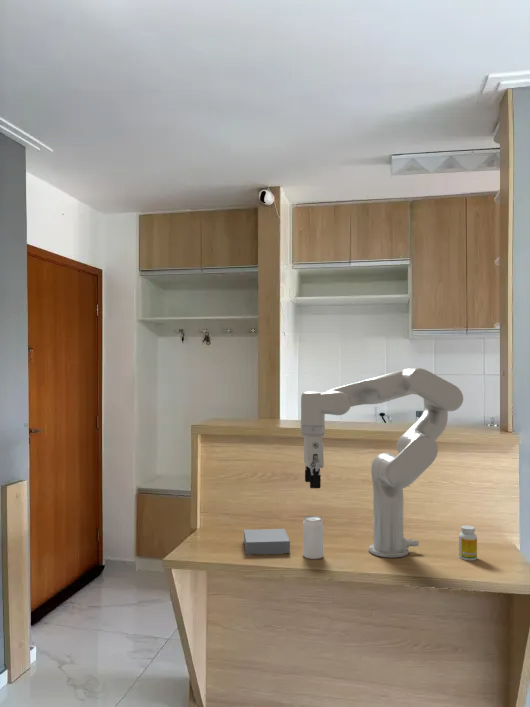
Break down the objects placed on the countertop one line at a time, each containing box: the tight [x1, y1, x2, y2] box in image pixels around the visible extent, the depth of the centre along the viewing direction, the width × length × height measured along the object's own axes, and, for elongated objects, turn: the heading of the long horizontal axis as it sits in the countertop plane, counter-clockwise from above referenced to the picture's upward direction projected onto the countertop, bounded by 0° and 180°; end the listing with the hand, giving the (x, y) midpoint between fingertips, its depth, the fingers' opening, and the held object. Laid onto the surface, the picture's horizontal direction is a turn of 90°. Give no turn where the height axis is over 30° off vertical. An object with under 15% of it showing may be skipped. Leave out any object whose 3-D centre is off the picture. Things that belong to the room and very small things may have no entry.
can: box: [302, 515, 324, 560], centre depth 182 cm, size 6×6×12 cm
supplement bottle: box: [458, 525, 478, 562], centre depth 181 cm, size 5×5×10 cm
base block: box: [243, 528, 291, 556], centre depth 191 cm, size 14×14×4 cm
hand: (312, 484), depth 183 cm, fingers open, 9 cm apart
